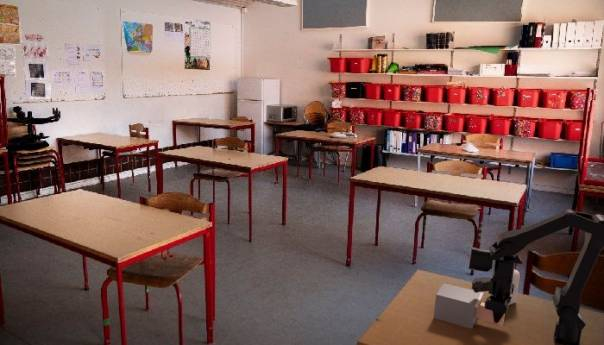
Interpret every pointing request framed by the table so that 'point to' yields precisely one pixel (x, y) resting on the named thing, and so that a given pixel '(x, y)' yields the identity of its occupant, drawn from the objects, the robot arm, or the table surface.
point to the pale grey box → (457, 305)
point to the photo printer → (516, 283)
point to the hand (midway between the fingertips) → (496, 320)
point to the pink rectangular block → (486, 314)
